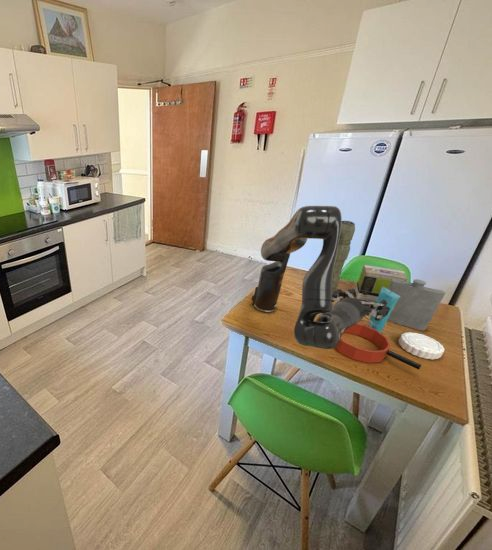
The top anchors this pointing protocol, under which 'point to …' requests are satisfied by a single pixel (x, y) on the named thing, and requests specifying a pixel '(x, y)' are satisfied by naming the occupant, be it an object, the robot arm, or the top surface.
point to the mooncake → (421, 345)
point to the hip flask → (414, 303)
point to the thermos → (342, 250)
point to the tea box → (376, 281)
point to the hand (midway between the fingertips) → (368, 296)
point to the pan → (367, 354)
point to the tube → (391, 301)
